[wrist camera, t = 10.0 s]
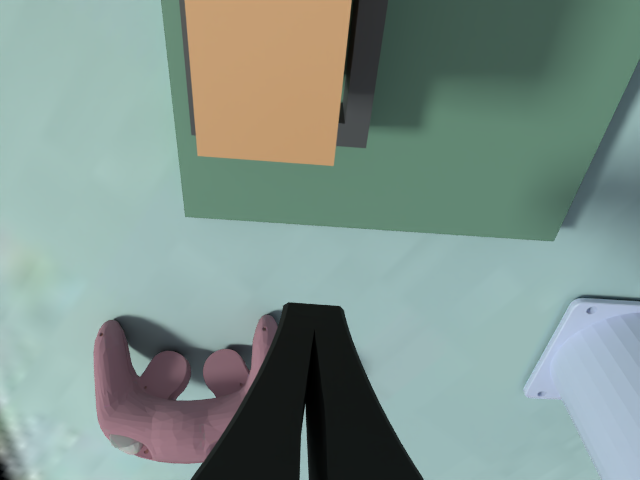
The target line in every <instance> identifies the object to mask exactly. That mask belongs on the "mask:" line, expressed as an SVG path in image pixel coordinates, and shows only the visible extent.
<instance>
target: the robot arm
mask: <svg viewBox="0 0 640 480" xmlns="http://www.w3.org/2000/svg"><path fill="white" fill-rule="evenodd" d="M523 391H524V394H525V396H526V397H528V398H540V399H559V400H562V401H563V403H564V405H565V407H566V409H567V411H568V413H569V415H570V417H571V419H572V421H573V423H574V425H575V427H576V429H577V431H578V433H579V435H580V437H581V439H582V441H583V443H584V445H585V448H586V450H587V452H588V454H589V456H590V458H591V460H592V462H593V464H594V466H595V468H596V470H597V472H598V474H599V476H600V478H601V480H640V301H625V300H608V299H592V298H578V299H575V300H574V301H572V302H571V304H570V305H569V307H568V308H567V310H566V312H565V314H564V316H563V318H562V319H561V321H560V323H559V325H558V327H557V328H556V330H555V332H554V334H553V336H552V337H551V339H550V341H549V343H548V345H547V347H546V348H545V350H544V352H543V354H542V356H541V357H540V359H539V361H538V363H537V365H536V366H535V368H534V370H533V372H532V374H531V376H530V377H529V379H528V381H527V383H526V385H525V386H524V388H523ZM305 404H306V427H307V449H308V470H309V480H424V479H423V477H422V476H421V474H420V473H419V471H418V470H417V468H416V467H415V465H414V463H413V462H412V460H411V458H410V457H409V455H408V454H407V452H406V450H405V449H404V447H403V445H402V444H401V442H400V440H399V438H398V437H397V435H396V433H395V431H394V429H393V428H392V426H391V424H390V422H389V420H388V418H387V416H386V414H385V412H384V411H383V409H382V407H381V405H380V403H379V401H378V399H377V397H376V395H375V392H374V390H373V388H372V386H371V384H370V382H369V379H368V377H367V375H366V373H365V370H364V368H363V366H362V363H361V361H360V359H359V356H358V354H357V351H356V348H355V346H354V343H353V340H352V337H351V334H350V331H349V328H348V325H347V321H346V318H345V314H344V310H343V309H342V308H341V307H340V306H331V305H317V304H303V303H289V302H288V303H287V304H285V305H284V306H283V310H282V315H281V318H280V322H279V325H278V328H277V331H276V333H275V336H274V338H273V341H272V343H271V346H270V348H269V350H268V352H267V354H266V357H265V359H264V361H263V363H262V365H261V367H260V369H259V371H258V373H257V375H256V377H255V379H254V381H253V383H252V385H251V386H250V388H249V390H248V392H247V394H246V395H245V397H244V399H243V401H242V403H241V404H240V406H239V408H238V410H237V411H236V413H235V415H234V416H233V418H232V419H231V421H230V423H229V424H228V426H227V428H226V429H225V431H224V432H223V434H222V435H221V437H220V438H219V440H218V441H217V443H216V444H215V446H214V447H213V449H212V450H211V452H210V453H209V455H208V456H207V457H206V459H205V460H204V462H203V463H202V464H201V466H200V467H199V469H198V470H197V471H196V473H195V474H194V476H193V477H192V478H191V480H299V478H300V447H301V430H302V423H303V416H304V409H305Z"/></svg>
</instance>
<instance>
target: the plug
mask: <svg viewBox="0 0 640 480" xmlns="http://www.w3.org/2000/svg"><path fill="white" fill-rule="evenodd" d="M351 2H352V0H185V11H186V23H187V35H188V47H189V59H190V71H191V83H192V95H193V107H194V119H195V131H196V143H197V155H198V156H204V157H218V158H231V159H245V160H259V161H272V162H286V163H299V164H313V165H326V166H334V159H335V149H336V140H337V131H338V122H339V113H340V103H341V94H342V85H343V76H344V67H345V57H346V48H347V39H348V30H349V21H350V11H351Z"/></svg>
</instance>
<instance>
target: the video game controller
mask: <svg viewBox="0 0 640 480" xmlns="http://www.w3.org/2000/svg"><path fill="white" fill-rule="evenodd" d="M277 328H278V326H277V323H276V321H275V319H274V318H273V317H272V316H270V315H264V316H262V317H261V318H260V320H259V322H258V325H257V327H256V331H255V334H254V338H253V348H252V363H251V370H248V368H247V366H246V363H245V361H244V360H243V359H242V357H241V356H240V355H239V354H238V353H237V352H235V351H234V350H231V349H222V350H218V351H216V352H214V353H212V354H211V355H210V356H209V357H208V358H207V360H206V362H205V364H204V368H203V377H204V380H205V383H206V385H207V386H208V388H209V389H210V390H211V391H212V392H213V393H214V394H215V396H216V398H212V399H204V400H192V401H176V399H177V397H178V396H179V395H180V394H181V393H182V392H183V391H184V390H185V388H186V387H187V385H188V383H189V380H190V377H191V367H190V364H189V362H188V360H187V359H186V358H185V357H184V356H182V355H181V354H179V353H177V352H174V351H164V352H161V353H159V354H157V355H156V356H155V357H154V358H153V359H152V360H151V362H150V363H149V365H148V367H147V368H146V370H145V371H144V373H143V374H142V375H141V377H139V376H138V375H137V374H136V372H135V370H134V368H133V366H132V363H131V358H130V353H129V348H128V342H127V340H126V337H125V334H124V331H123V329H122V327H121V326H120V324H119V322H117V321H115V320H109V321H107V322H105V323H104V324H103V325H102V326H101V328H100V330H99V332H98V335H97V337H96V340H95V345H94V377H95V394H96V409H97V416H98V421H99V424H100V427H101V429H102V431H103V433H104V434H105V436H106V437H107V438H108V439H109V440H110V442H111V444H112V445H113V446H114V447H115V448H118V449H119V450H121V451H123V452H125V453H127V454H130V455H136V456H138V457H141V458H145V459H149V460H153V461H159V462H167V463H183V464H190V463H202V462H204V460H205V459H206V457H207V456H208V455H209V453H210V452H211V450H212V449H213V447H214V446H215V444H216V443H217V441H218V440H219V438H220V437H221V435H222V434H223V432H224V431H225V429H226V428H227V426H228V424H229V423H230V421H231V419H232V418H233V416H234V415H235V413H236V411H237V410H238V408H239V406H240V404H241V403H242V401H243V399H244V397H245V395H246V394H247V392H248V390H249V388H250V386H251V385H252V383H253V381H254V379H255V377H256V375H257V373H258V371H259V369H260V367H261V365H262V363H263V361H264V359H265V357H266V354H267V352H268V350H269V348H270V346H271V343H272V341H273V338H274V336H275V333H276V331H277Z"/></svg>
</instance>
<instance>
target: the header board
mask: <svg viewBox="0 0 640 480" xmlns="http://www.w3.org/2000/svg"><path fill="white" fill-rule="evenodd" d="M161 4H162V13H163V22H164V31H165V40H166V49H167V58H168V67H169V76H170V85H171V94H172V103H173V112H174V121H175V130H176V139H177V148H178V157H179V165H180V174H181V183H182V192H183V201H184V210H185V217H195V218H210V219H225V220H240V221H256V222H271V223H286V224H301V225H316V226H331V227H346V228H361V229H376V230H391V231H406V232H421V233H436V234H451V235H466V236H481V237H496V238H511V239H526V240H541V241H554V240H555V238H556V236H557V233H558V231H559V229H560V227H561V225H562V223H563V221H564V219H565V216H566V214H567V212H568V210H569V208H570V206H571V204H572V202H573V199H574V197H575V195H576V193H577V191H578V189H579V187H580V185H581V182H582V180H583V178H584V176H585V174H586V172H587V170H588V168H589V165H590V163H591V161H592V159H593V157H594V155H595V153H596V151H597V148H598V146H599V144H600V142H601V140H602V138H603V136H604V134H605V131H606V129H607V127H608V125H609V123H610V121H611V119H612V117H613V114H614V112H615V110H616V108H617V106H618V104H619V102H620V100H621V97H622V95H623V93H624V91H625V89H626V87H627V85H628V83H629V80H630V78H631V76H632V74H633V72H634V70H635V68H636V66H637V63H638V61H639V59H640V0H352V2H351V11H350V21H349V30H348V39H347V48H346V57H345V67H344V76H343V85H342V94H341V103H340V113H339V122H338V131H337V140H336V149H335V159H334V166H326V165H313V164H299V163H286V162H272V161H259V160H245V159H231V158H218V157H204V156H198V155H197V143H196V131H195V119H194V107H193V95H192V83H191V71H190V59H189V47H188V35H187V23H186V11H185V0H161Z"/></svg>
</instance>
